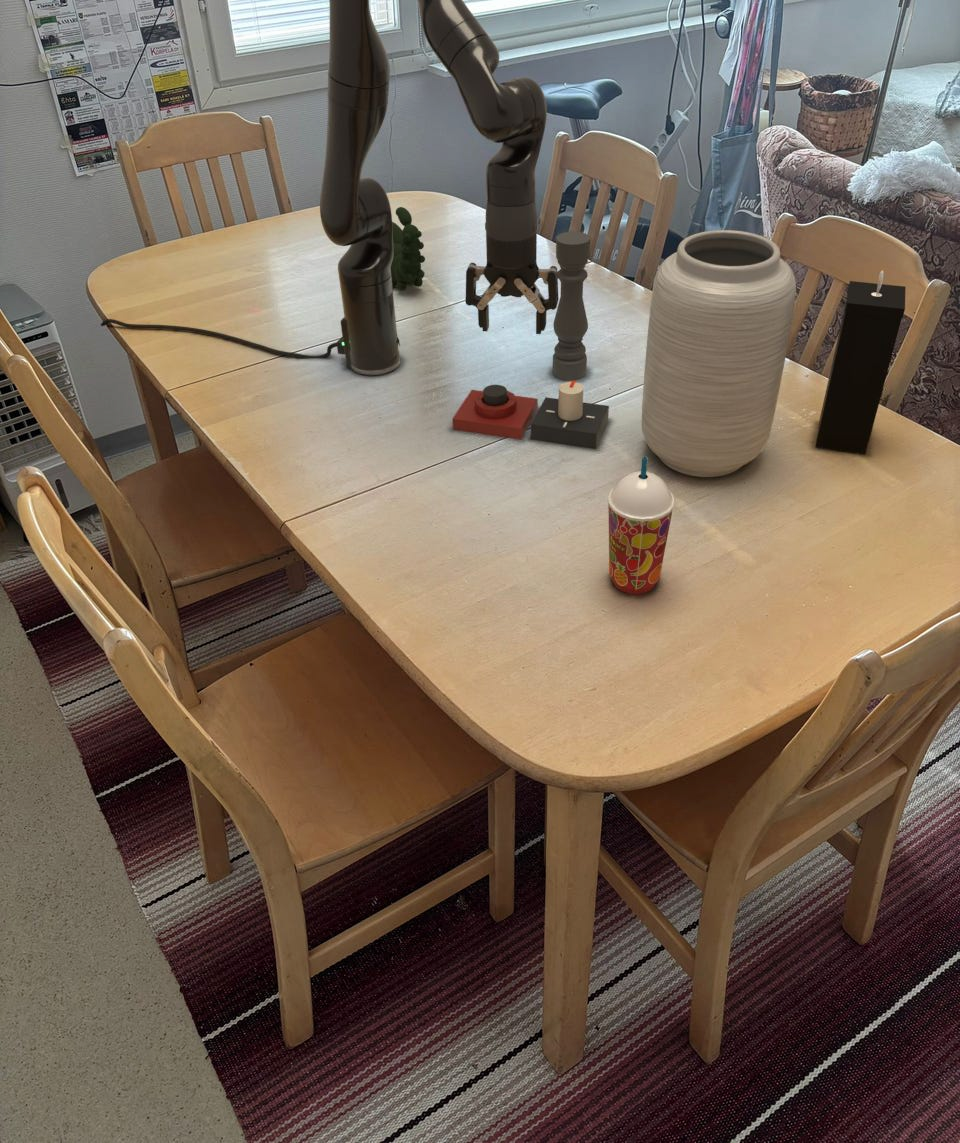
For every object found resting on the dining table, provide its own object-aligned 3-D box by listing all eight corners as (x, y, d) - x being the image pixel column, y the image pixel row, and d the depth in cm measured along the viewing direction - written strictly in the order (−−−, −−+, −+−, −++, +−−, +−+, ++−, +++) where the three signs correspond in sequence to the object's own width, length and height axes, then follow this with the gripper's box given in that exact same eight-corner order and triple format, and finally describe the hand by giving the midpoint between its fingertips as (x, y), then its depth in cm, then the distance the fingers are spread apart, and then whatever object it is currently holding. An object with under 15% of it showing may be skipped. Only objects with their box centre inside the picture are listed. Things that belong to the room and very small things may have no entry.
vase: (688, 503, 144) (716, 290, 123) (613, 440, 158) (626, 239, 137) (793, 465, 151) (837, 256, 129) (712, 408, 165) (739, 211, 143)
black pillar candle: (867, 430, 158) (911, 264, 140) (865, 455, 152) (911, 286, 134) (818, 423, 160) (854, 259, 142) (814, 448, 155) (851, 280, 136)
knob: (579, 422, 157) (580, 393, 154) (555, 419, 158) (556, 390, 155) (584, 409, 160) (585, 381, 157) (561, 406, 161) (561, 378, 158)
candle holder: (584, 382, 173) (589, 246, 157) (550, 380, 174) (551, 244, 158) (588, 365, 178) (593, 231, 162) (554, 363, 179) (557, 230, 163)
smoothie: (598, 564, 134) (605, 442, 121) (657, 559, 135) (670, 437, 122) (609, 604, 128) (617, 479, 115) (671, 598, 128) (686, 474, 115)
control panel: (530, 439, 159) (530, 423, 157) (545, 412, 166) (545, 396, 164) (595, 449, 157) (596, 432, 154) (608, 421, 163) (609, 404, 161)
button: (480, 405, 161) (479, 394, 160) (487, 393, 164) (487, 383, 163) (503, 408, 160) (502, 397, 159) (510, 396, 163) (510, 386, 162)
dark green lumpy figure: (437, 300, 206) (392, 251, 221) (435, 214, 192) (386, 168, 208) (397, 310, 202) (353, 260, 218) (391, 224, 189) (345, 176, 205)
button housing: (453, 429, 163) (451, 409, 160) (472, 400, 170) (471, 380, 167) (521, 439, 159) (521, 419, 157) (537, 409, 167) (537, 389, 164)
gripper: (562, 221, 144) (559, 322, 155) (468, 218, 146) (472, 317, 157) (556, 241, 138) (554, 344, 149) (459, 237, 141) (463, 339, 151)
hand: (512, 330), depth 153 cm, fingers open, 8 cm apart
